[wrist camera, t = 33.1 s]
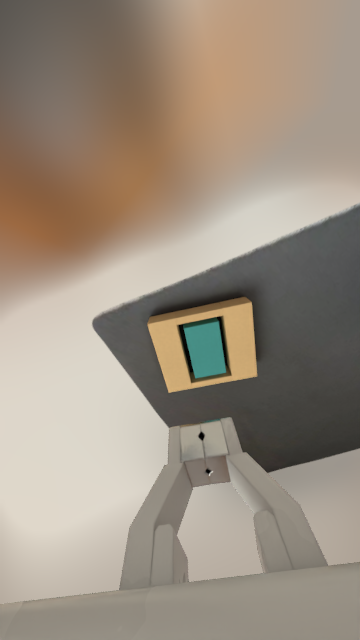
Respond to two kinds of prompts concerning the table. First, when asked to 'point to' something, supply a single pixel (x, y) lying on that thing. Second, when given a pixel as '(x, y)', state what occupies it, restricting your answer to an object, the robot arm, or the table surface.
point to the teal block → (205, 347)
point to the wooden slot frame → (236, 342)
